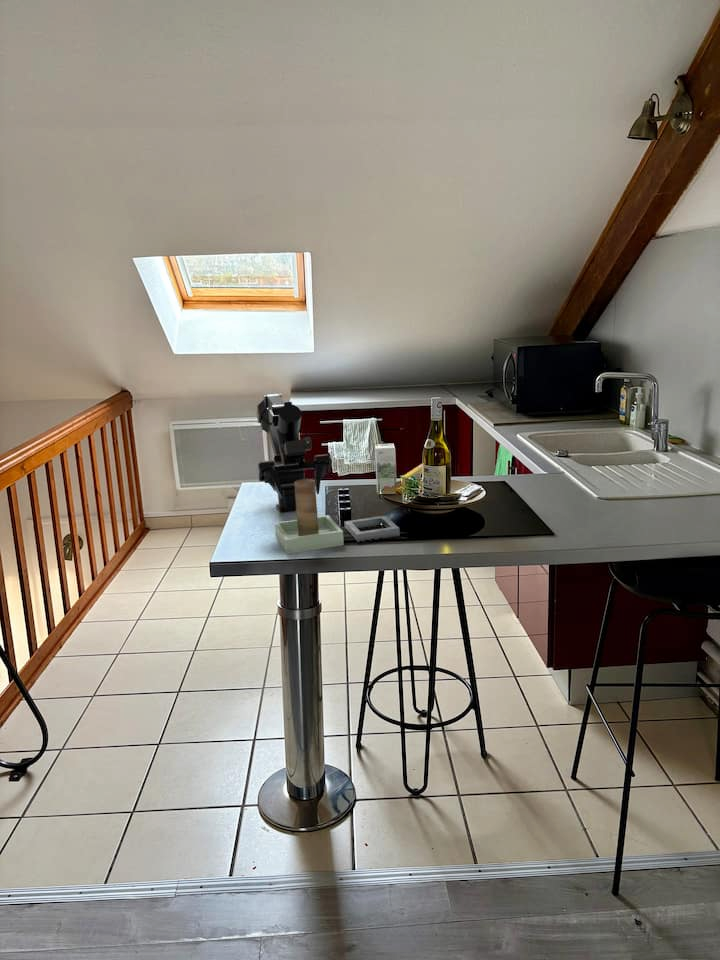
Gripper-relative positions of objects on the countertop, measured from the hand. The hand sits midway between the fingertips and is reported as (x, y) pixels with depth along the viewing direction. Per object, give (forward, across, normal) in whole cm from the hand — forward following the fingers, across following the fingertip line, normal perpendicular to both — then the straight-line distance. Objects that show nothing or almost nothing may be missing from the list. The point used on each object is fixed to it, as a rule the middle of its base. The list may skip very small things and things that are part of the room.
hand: (300, 495), depth 188 cm
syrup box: (-10, +30, +24) cm, 40 cm away
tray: (+12, 0, +1) cm, 12 cm away
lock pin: (+11, 0, +1) cm, 11 cm away
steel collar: (+12, +16, +1) cm, 20 cm away
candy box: (-5, +36, +19) cm, 41 cm away
